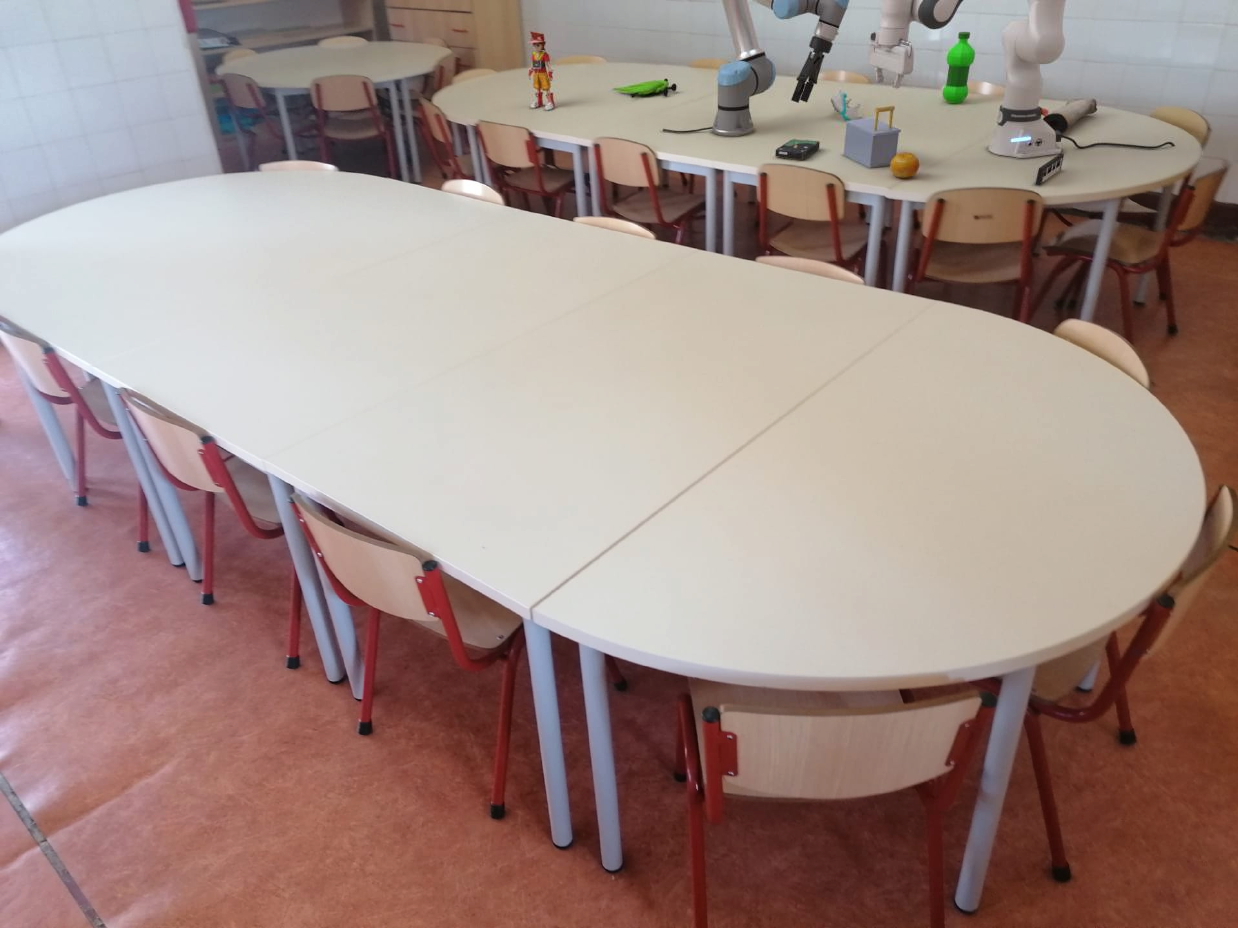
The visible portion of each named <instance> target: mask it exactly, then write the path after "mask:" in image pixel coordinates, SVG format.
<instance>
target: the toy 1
mask: <svg viewBox="0 0 1238 928" xmlns="http://www.w3.org/2000/svg"><path fill="white" fill-rule="evenodd" d="M529 33H530V35H531V36H528V37H527V38H528V39H529V40H528V41H527V43H529V44H530V43H531V44H532V48H533V50H534V51H533V52H532V55H531V58H530V59H531V63H530V66H528V74H527V75H528V76H527V77H528V79H529V80H531V75H532V74H533V84H532V85H533V86H532V87H533V88H534V89H535V90H536V92H534V95H535V97H536V100H535V101H533V102H531V105H530V108H531V109H535V108H538V107H542V106H544V101H543V100H544V99H543V95H544V92H546V94H545V97H546V99H547V103H546V104H545V106H544V110H546V111H549V110H553V109H554V107H555V106H556V105H555V99H554V92H551V91H550V90H551V86H552V84H551V82H552V81H553V80H554V77H553V73H554V71H555V70H554V69H552V68H551V63H550V61H551V59H550V58H551V57H550V54H549V53H548V52H547V50H546V48H545V46H546V44H547V41H545V35H544V33H543V32H542V33H539V32H535V31H529Z"/></svg>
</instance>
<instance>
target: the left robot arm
mask: <svg viewBox="0 0 1238 928" xmlns="http://www.w3.org/2000/svg"><path fill="white" fill-rule="evenodd" d="M721 2H722V7H723V9H724V13H725V17H726V20H727V24H728V28H729V31H730V35H731V39H732V43H733V46H734V47H733V48H734V50H735V53H736V58H735V59H734V61H732V62H727V63H724V64H722V65H721V66H720V67H719V68H718V70H717V71H718V73H717V74H718V75H717V111H716V114H715V118H714V120H713V124H712V126H708V127H703V128H698V129H697V128H696V129H689V130H676V129H675V130H674V129H667V128H662V131H663V132H668V133H674V134H675V133H677V134H685V133H686V134H687V133H696V132H701V131H707V130H712V133H713V134H715V135H717V136H721V137H741V136H746V135H750V134H752V133H754V127H755V126H754V122H753V118H752V115H751V111H750V98H751V97H754V96H756V95H760V94H763V93H764V92H766V91H768V90H769V89H770V88H771V87H773V84H774V82H775V81H776V75H777V71H776V70H777V69H776V66H775V64H774V62H773V60H771V59H770V58H768V57H767V55H766V51H765V50H764V49H762V48H760V45H759V41H758V37H757V33H756V29H755V26H754V22H753V18H752V14H751V11H750V6H749V3H748V0H721ZM752 2H755V3H757V4H759V5H761V6H763V7H765V8H768V9H769V10H771V11H772V12H773V14H774V15H775V17H776V18H777V19H779V20H790V19H792V18H795V17H799V16H801V15H806V14H812V15H815V16H818V17H819V18H818V21H817V23H816V26H815V28H814V31H813V36H812V37H811V39H810V41H809V45H808V47H809V48H810V49H813V50H811V51H809V53H808V56H807V58H806V60H805V63H804V65H803V66H802V68H801V70H800V72H799V75H798V76H797V77H796V81H797V83H796V85H795V89H794V92H793V93H792V96H791V99H790V101H792V102H795V103H797V104H799V102H800V101H801V102H805V103H808V101H809V99H810V96H811V94H812V92H813V88H814V86H815V85H817V84H818V79H819V75H820V71H821V69H822V64H823V62H824V59H825V54H830V52H831V49H832V47H833V45H834V44H833V41H835V39H836V37H837V36H838V35H839V34H840V33H839V29H840V26H841V24H842V22H843V19H844V17H845V14H846V12H847V10H848V7H849V3H850V0H752ZM824 53H825V54H824Z"/></svg>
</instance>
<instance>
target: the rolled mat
mask: <svg viewBox="0 0 1238 928" xmlns="http://www.w3.org/2000/svg"><path fill="white" fill-rule="evenodd" d="M1097 106H1098V105H1097V100H1096V99H1095V98H1089V97H1084V98H1077V99H1071V100H1069V101H1067V102H1066V104H1065V105H1063V106H1061V107H1059V108H1057V109H1055V110H1053V111H1052V112H1049V113H1048V114H1047V116H1043V117H1042V119H1043V120H1044V121H1045V122H1046V123H1047V124H1048V125H1049V126H1050V127H1051V128H1052V129H1053V130H1058V131H1059V132H1061V133H1062V135H1063V134H1065V133H1066V132H1067V131H1068V130H1069V129H1070V128H1071V127H1072V126H1073V125H1074V124H1075V123H1076V122H1077V121H1079V120H1080V119H1081V118H1082V117H1084V116H1086V115H1092V114H1095V113H1096V112H1097V111H1098V108H1097Z"/></svg>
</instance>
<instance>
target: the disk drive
mask: <svg viewBox="0 0 1238 928" xmlns="http://www.w3.org/2000/svg"><path fill="white" fill-rule="evenodd" d="M820 145H821V142H820V141H818V140H810V139H798V138H797V139H796V138H793V139H790V140H789V141H787V142H785V143H784V144H782V145H780V146H779V147H777V148H776V149H775V152H774V153H775V154H774V155H775V157H777V158H782V159H789V160H800V161H802V160H805V159H807V158H808V157H809V156H810V155H812V154H814V153H815V152H817V151H818V150H819V149H820Z"/></svg>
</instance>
